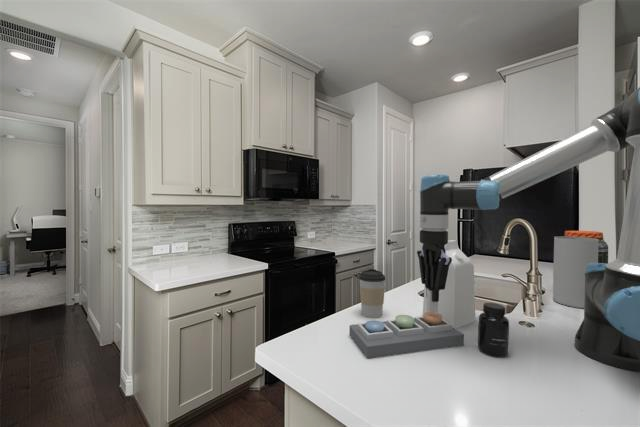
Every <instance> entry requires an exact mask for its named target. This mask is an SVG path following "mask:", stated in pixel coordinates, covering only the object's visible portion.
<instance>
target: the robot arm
mask: <svg viewBox="0 0 640 427" xmlns="http://www.w3.org/2000/svg"><path fill="white" fill-rule="evenodd" d="M631 146H632V148H633V156H632V161H631V162H632V163H631V168H630V174H629V180H628V187H627V193H626V199H625V205H624V211H623V219H622V224H621V228H620V237H619V242H618V249H617V255H616V259H615V260H612V261H610V262H608V264H607V263H589V264H587V265H586V270H585V273H584V275H585V302H584V309H583V310H584V311H583V313H584V314H583V320H582V322H581V324H580V326H579V328H578V329H577V331H576V333H575V335H574V348H575V349H576V350H577V351H579V352H580V353H582V354H583V355H585V356H587V357H589V358H590V359H593V360H596V361H598V362H600V363H603V364H605V365H606V364H607V365H609V366H613V367H616V368H620V369H625V370H630V371H634V372H635V371H636V372H640V86H639V87H638V88H637V89H635V90H634V91H633V92H631V93H630V95H628V96H627V97H626V98H625V99H623V101H620V103H618V104H617V105H615V106H614V107H613V108H612V109H610V110H609V111H607V112H605V113H603V114H602V115H600V116H597V117H596V118H594V119H593V120H591V123H590V125H589V126H587V127H585V128H583V129H581V130H579V131H577V132H575V133H573V134H571V135H569V136H566V137H565V138H563V139H561V140H559V141H557V142H555V143H553V144H551V145H549V146H547V147H545V148H543V149H542V150H541V149H540V150H539V151H537V152H535V153H533V154H531V155H529V156H527V157H525V158H522V160H519V161H517V162H515V163H513V164H511V165H509V166H507V167H505V168H503V169H501V170H500V171H497V172H495V173H493V174H492V175H490V176H488V177H485V178H483V179H481V180H471V181H469V180H467V181H466V180H464V181H451V180H450V176H449V175H448V174H427V175H424V176H423V177H422V178H421V180H420V190H419V194H420V196H419V200H420V202H419V203H420V208H419V209H420V210H419V211H420V212H419V214H420V216H419V227H420V229H421V230H419V242H420V243H421V244H422V247H421V250H417V251H416V254H417V257H418V263H419V265H418V266H419V272H420V281H421V284H422V285H424V287H426V297H427V312H429V313H433V312H438V301H439V290H444V289H445V285H446V280H447V275H448V270H449V265H450V263H451V262H452V258H451V257H447V256H446V254H445V253H446V251H445V247H444V246H445V244H447V243H448V241H449V231H448V229H449V210H458V209H459V210H483V211H487V210H496V209H498V208H499V207H500V201H501V200H502V199H505V198H507V197H509V196H512V195H514V194H517V193H519V192H521V191H522V190H525V189H527V188H530V187H532V186H534V185H536V184H539V183H540V182H543V181H545V180H547V179H549V178H551V177H554V176H556V175H558V174H560V173H562V172H565V171H567V170H569V169H571V168H574V167H576V166H577V165H580V164H582V163H585V162H586V161H589V160H591V159H594V158H596V157H598V156H600V155H603V154H605V153H606V152H613V153H617V152H620V151H622V150H624V149H626V148H628V147H631Z"/></svg>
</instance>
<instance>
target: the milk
mask: <svg viewBox="0 0 640 427" xmlns="http://www.w3.org/2000/svg"><path fill="white" fill-rule="evenodd" d="M444 247H445V251H446V253H445V254H446V256H447V257H451V258H452V262H451V263H450V265H449V270H448V275H447V280H446V285H445V289H444V290H439V301H438V312H435V313H438V314H441V315H442V319H443V320H445V321H447V322H448V323H450V324H452V327H453V328H455V329H456V330H458V329H459V328H461V327H463V326H466V325H469V324H471V323H473V322H476V319H477V318H476V292H475V291H476V290H475V288H476V287H475V268H474V267H475V266H474V264H473V262H472V260H471V259H470V258H469V257H468V256H467V255H466V254H465V253H464V251H462V250H461V249H460V248H459V244H458V241H457V240H456V239H454V240H453V239H451V240H448V243H447V244H445V246H444ZM422 303H423V304H422V315H421V317H424V313H426V312H427V297H426V287H425V286H424V288H423V302H422Z"/></svg>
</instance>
